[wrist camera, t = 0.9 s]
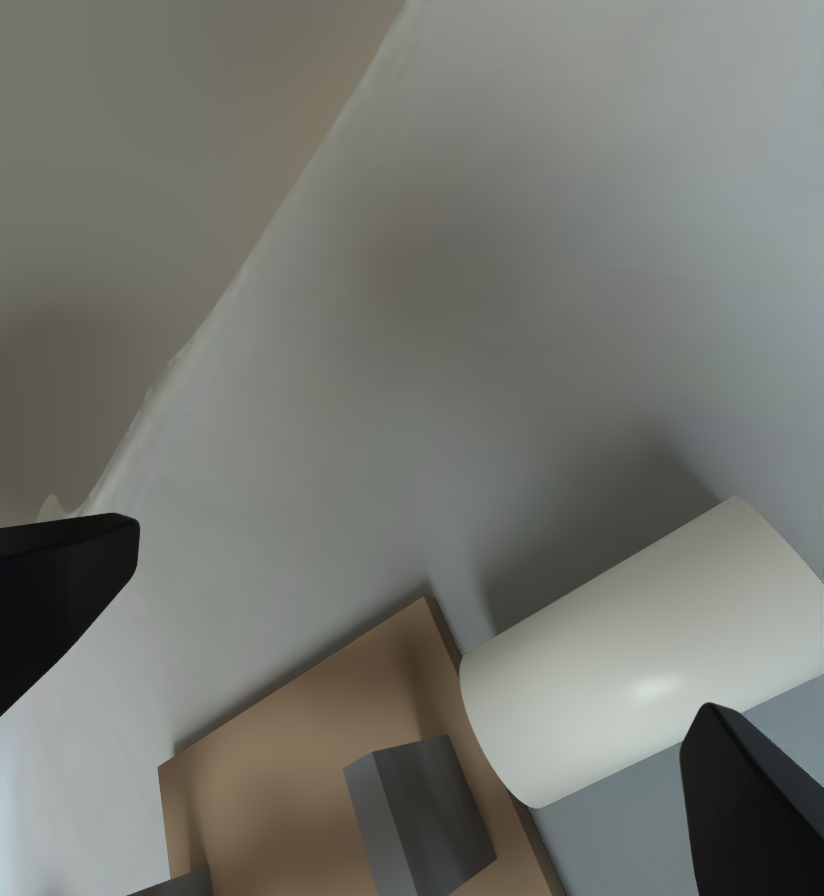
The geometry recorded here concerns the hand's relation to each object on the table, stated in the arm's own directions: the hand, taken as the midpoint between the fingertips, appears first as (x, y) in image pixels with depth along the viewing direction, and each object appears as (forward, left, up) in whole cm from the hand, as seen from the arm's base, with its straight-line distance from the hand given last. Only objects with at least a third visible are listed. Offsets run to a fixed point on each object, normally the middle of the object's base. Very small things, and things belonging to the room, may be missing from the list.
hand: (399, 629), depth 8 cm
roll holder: (-2, +14, -14) cm, 20 cm away
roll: (-1, -1, -14) cm, 14 cm away
